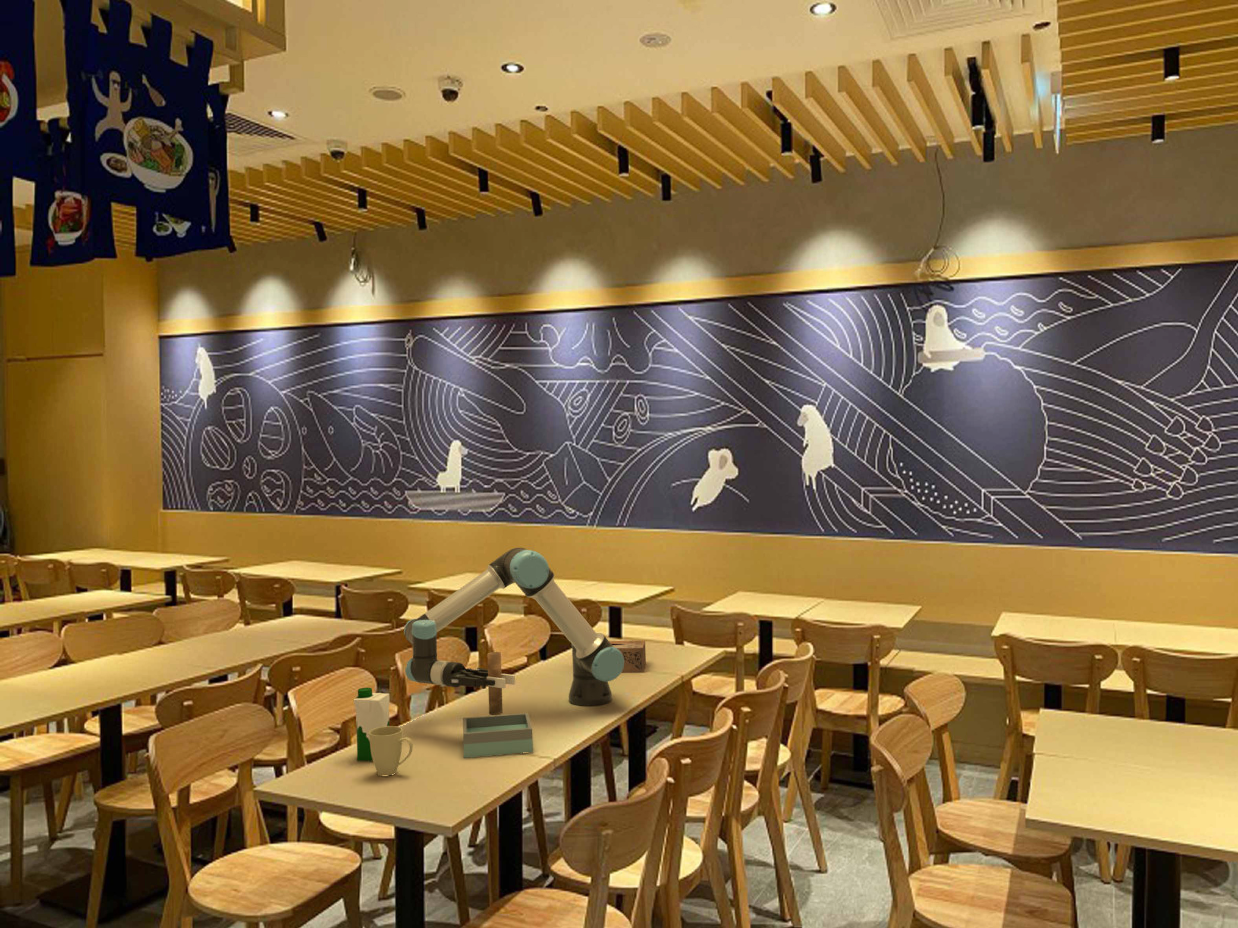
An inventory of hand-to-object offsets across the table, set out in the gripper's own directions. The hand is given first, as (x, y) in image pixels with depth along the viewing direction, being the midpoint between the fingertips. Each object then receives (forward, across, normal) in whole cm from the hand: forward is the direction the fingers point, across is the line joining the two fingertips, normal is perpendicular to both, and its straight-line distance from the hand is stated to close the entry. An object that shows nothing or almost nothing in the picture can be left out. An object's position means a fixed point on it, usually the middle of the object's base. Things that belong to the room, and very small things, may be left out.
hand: (509, 681), depth 285 cm
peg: (-5, 0, -10) cm, 11 cm away
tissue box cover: (-25, -100, -20) cm, 105 cm away
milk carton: (-32, +24, -20) cm, 45 cm away
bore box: (-5, 0, -20) cm, 21 cm away
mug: (-17, +32, -20) cm, 42 cm away
